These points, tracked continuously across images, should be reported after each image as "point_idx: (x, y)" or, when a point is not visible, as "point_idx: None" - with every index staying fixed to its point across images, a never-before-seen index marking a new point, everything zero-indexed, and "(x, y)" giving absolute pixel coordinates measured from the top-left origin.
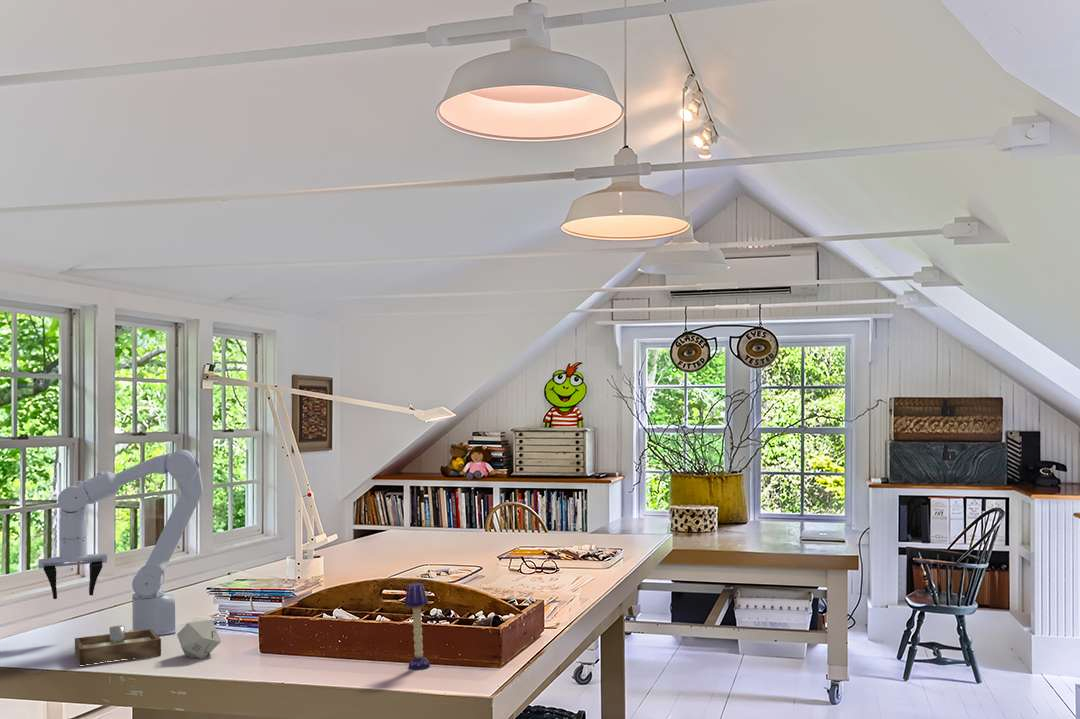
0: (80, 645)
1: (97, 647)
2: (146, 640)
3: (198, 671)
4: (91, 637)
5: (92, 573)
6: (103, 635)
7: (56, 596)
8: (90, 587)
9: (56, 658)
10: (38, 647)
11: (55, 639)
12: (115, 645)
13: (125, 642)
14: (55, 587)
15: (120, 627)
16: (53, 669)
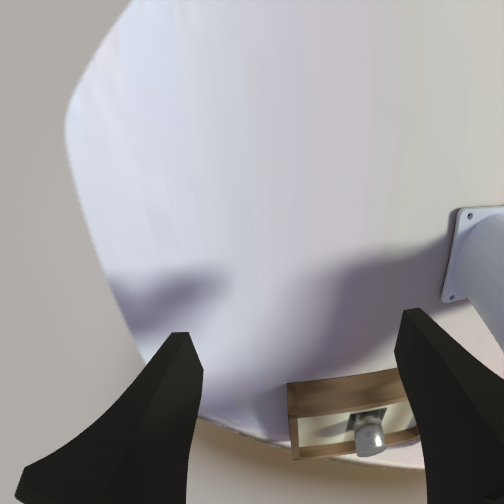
0: (295, 448)
1: (321, 457)
2: (401, 441)
3: (408, 456)
4: (325, 414)
5: (433, 485)
6: (353, 410)
7: (199, 384)
8: (408, 394)
9: (248, 393)
10: (181, 283)
11: (218, 185)
12: (350, 453)
13: (386, 406)
14: (186, 439)
15: (376, 452)
16: (250, 435)
